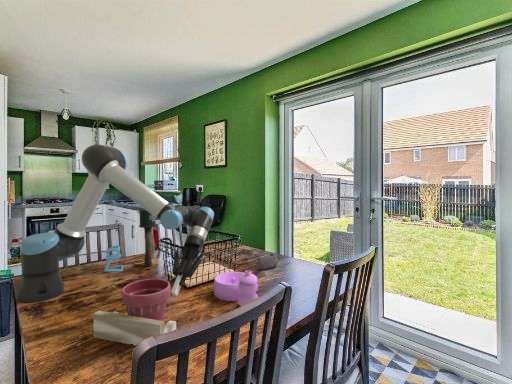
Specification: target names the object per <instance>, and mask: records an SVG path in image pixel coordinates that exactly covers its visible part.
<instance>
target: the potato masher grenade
mask: <svg viewBox="0 0 512 384" xmlns="http://www.w3.org/2000/svg"><path fill="white" fill-rule="evenodd" d="M156 219H157V218H156V217H155V216H153V215H152V214H151V213H149V212H148V211H147V210H145V209H144V208H142V209H139V225H138V228H139V229H140V228H142V229H143V230H144V243H145V244H144V252H145V253H144V263H143V265H144V267H145V268H148V267H151V266H152V253H151V252H152V251H151V250H152V249H151V246H152V245H151V241H152V228H156V227H157V221H156Z"/></svg>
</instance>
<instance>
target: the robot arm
mask: <svg viewBox="0 0 512 384" xmlns="http://www.w3.org/2000/svg"><path fill="white" fill-rule="evenodd" d="M81 163H82V165H83V167H84V168H85V169H86V171H87V174H88V176H87V177H86V180H85V181H84V184H83V185H82V187H81V188H80V190H79V193H78V194H77V196H76V198H75V200H74V202H73V204H72V206H71V207H70V209H69V212H68V214H67V215H66V217H65V219H64V221H63V222H61V223H58V224H57V225H56V227H55V229H54V231H53V232H41V233H35V234H32V235H29V236H27V237H25V238H23V240H22V241H21V246H20V252H21V253H20V261H21V279H20V283H19V284H18V288H17V291H16V292H15V293H16V294H15V298H16V299H15V300H16V301H17V302H18V303H19V302H20V303H36V302H42V301H47V300H50V299H52V298H55V297H57V296H60V295H62V294H63V293H64V292H65V291H66V290H65V289H66V288H65V283H64V282H63V279H62V276H61V274H60V262H62V261H64V260H67V259H69V258H71V257H74V256H76V255H77V254H79V253H80V252H81V251H82V250H83V249H84V247H85V245H86V239H85V238H86V237H87V236H86V235H87V232H86V230H85V229H86V227H87V226H88V224H89V222H90V220H91V218H92V216H93V214H94V213H95V211H96V209H97V207H98V205H99V203H100V201H101V199H102V197H103V196H104V194H105V192H106V190H107V188H108V186H109V185H111V186H113V187H114V188H115V189H117V190H118V191H120V192H121V193H122V194H123V195H125V196H126V197H128V198H129V199H130V200H132V201H133V202H134V203H136V204H137V205H138V206H140V207H141V208H142V209H145V210H147V211H148V212H149V213H151V214H152V215H153V216H155V217H156V219H158V220H159V221H160V224H161V226H162V227H163V228H164V229H167V230H174V229H177V228H179V227H181V226H182V225H186V226H189V227H190V228H189V231H188V234H187V237H186V239H185V241H184V243H183V246H182V248H181V249H180V250H179V251H177V250H175V251H174V259H173V260H174V261H173V266H172V271H171V273H172V274H173V275H174V279H173V281H172V285H173V286H172V288H171V290H170V294H172V295H173V296H178V295H179V293H180V290H181V287H183V286H184V285H185V282H186V279H188V278H189V279H191V278H192V277H193V276H194V274H195V272H196V271H197V269H198V268H199V266H200V264H201V262H202V261H204V260H205V259H206V257H205V255H204V253H202V249H203V247H204V245H205V242H206V239H207V237H208V236H207V235H208V234H209V230H210V229H211V226H212V224H213V221H214V216H215V212H214V210H213V209H212V208H210V207H208V206H200V207H199V209H195V208H190V207H188V206H185V205H181V204H177V203H170V202H169V201H167V200H166V199H165V198H164V197H162V196H160V195H159V194H158V193H157V192H156V191H154V190H152V189H151V188H150V187H149V186H147V185H146V184H144V183H143V182H142V181H140V180H139V179H138V178H137V177H136V176H134V175H133V174H131V173H130V172H128V171H127V167H128V159H127V155H126V154H125V152H123V151H122V150H121V149H118V148H116V147H112V146H106V145H103V144H93V145H89V146H87V147H86V148H85V149H84V150H83V152H82V154H81Z"/></svg>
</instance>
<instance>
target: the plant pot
mask: <svg viewBox="0 0 512 384" xmlns="http://www.w3.org/2000/svg"><path fill="white" fill-rule="evenodd" d="M170 283H171V282H169V281H168V280H167V279H163V278H147V279H139V280H136V281H133V282H130V283H128V284H126V285H124V287H122V289H121V303H122V304H123V305H124V306H125V309H126V313H127V314H126V315H129V316H135V317H141V318H147V319H153V320H159V321H164V319H165V318H164V317H165V314H166V313H165V312H166V308H167V303H168V299H170V297H171V284H170Z"/></svg>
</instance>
